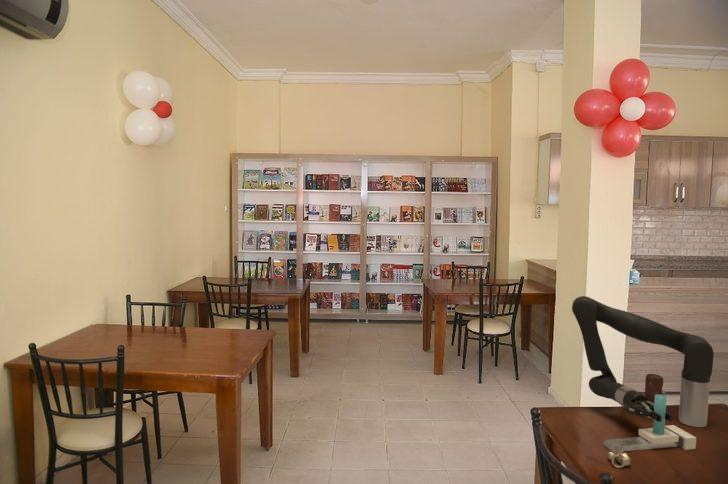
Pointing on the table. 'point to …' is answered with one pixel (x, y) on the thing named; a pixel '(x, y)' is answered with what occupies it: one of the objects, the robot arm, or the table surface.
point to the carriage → (659, 425)
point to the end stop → (683, 437)
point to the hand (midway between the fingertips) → (665, 418)
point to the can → (653, 386)
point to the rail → (634, 444)
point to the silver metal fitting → (619, 458)
